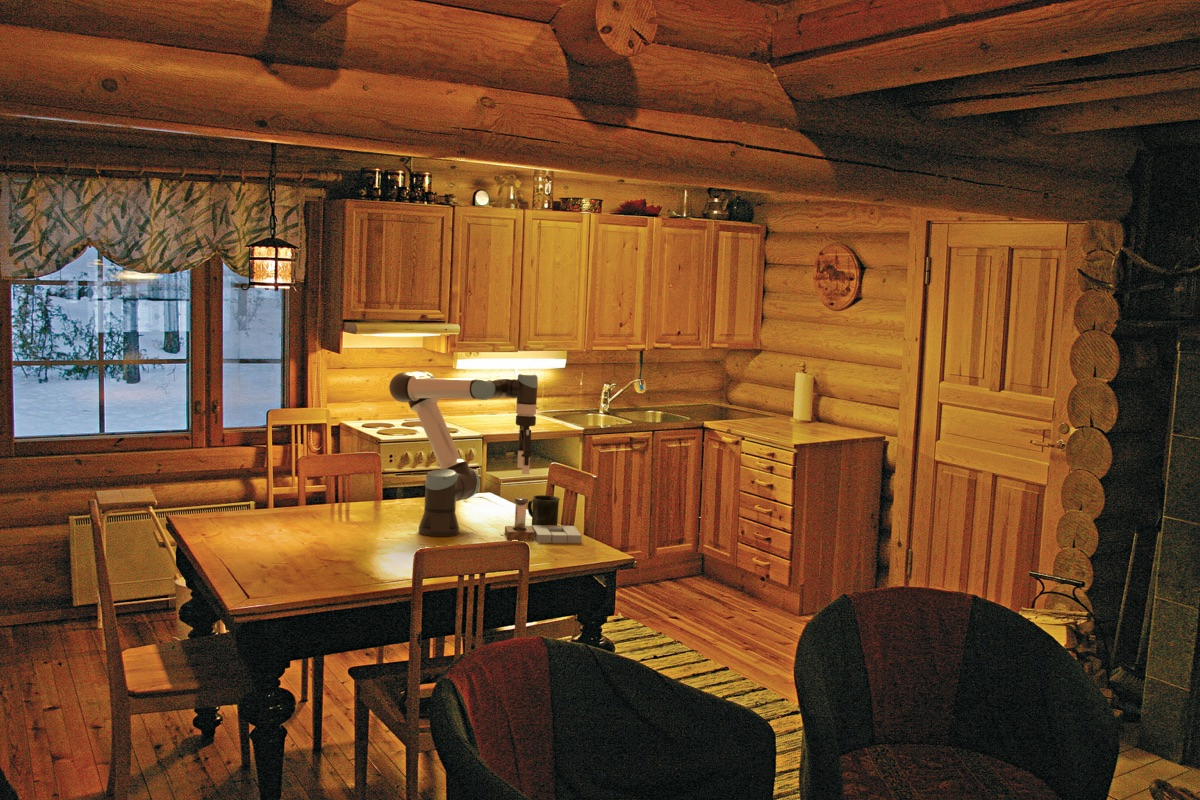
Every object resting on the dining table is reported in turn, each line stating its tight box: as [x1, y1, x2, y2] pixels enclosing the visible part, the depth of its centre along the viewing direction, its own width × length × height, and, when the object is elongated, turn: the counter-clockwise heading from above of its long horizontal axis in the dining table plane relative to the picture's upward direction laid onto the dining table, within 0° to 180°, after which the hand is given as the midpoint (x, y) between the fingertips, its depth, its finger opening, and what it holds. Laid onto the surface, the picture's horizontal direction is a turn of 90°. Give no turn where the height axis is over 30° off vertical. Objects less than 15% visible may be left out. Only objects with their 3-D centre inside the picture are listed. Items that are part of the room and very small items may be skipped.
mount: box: [504, 525, 535, 541], centre depth 405 cm, size 10×10×3 cm
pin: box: [514, 497, 529, 531], centre depth 404 cm, size 5×5×15 cm
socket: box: [531, 524, 582, 544], centre depth 407 cm, size 17×17×3 cm
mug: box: [527, 494, 561, 526], centre depth 424 cm, size 11×15×12 cm
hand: (523, 470), depth 402 cm, fingers open, 13 cm apart
